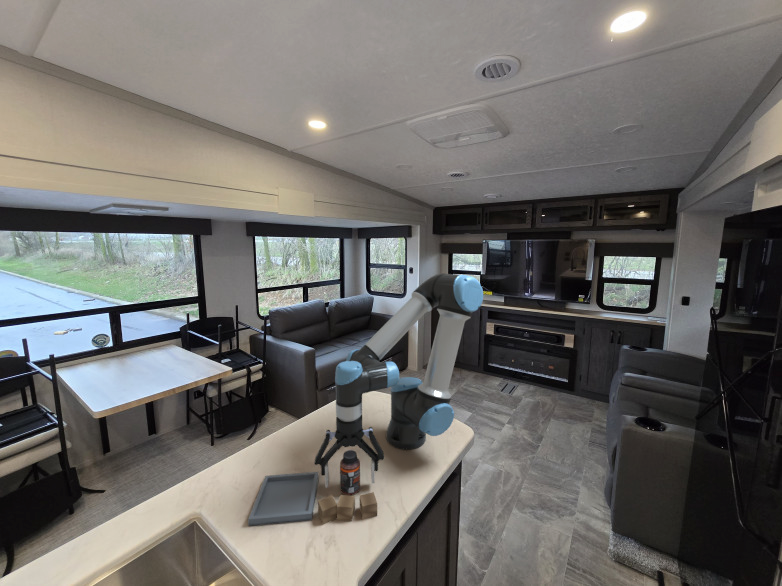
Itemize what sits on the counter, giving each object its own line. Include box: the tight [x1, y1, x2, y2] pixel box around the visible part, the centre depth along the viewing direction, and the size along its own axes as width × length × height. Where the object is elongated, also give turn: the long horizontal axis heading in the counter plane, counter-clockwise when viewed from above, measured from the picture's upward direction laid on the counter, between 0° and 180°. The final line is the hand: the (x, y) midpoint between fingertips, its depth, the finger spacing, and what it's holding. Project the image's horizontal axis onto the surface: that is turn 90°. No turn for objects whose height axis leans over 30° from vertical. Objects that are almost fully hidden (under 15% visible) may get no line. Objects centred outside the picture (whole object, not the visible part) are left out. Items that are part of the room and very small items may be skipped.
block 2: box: [336, 494, 356, 522], centre depth 84 cm, size 4×4×4 cm
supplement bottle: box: [339, 449, 361, 496], centre depth 93 cm, size 6×6×11 cm
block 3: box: [359, 491, 378, 520], centre depth 85 cm, size 4×4×4 cm
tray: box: [247, 471, 320, 527], centre depth 89 cm, size 16×16×2 cm
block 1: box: [317, 494, 338, 525], centre depth 83 cm, size 4×4×4 cm
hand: (350, 482), depth 93 cm, fingers open, 13 cm apart
